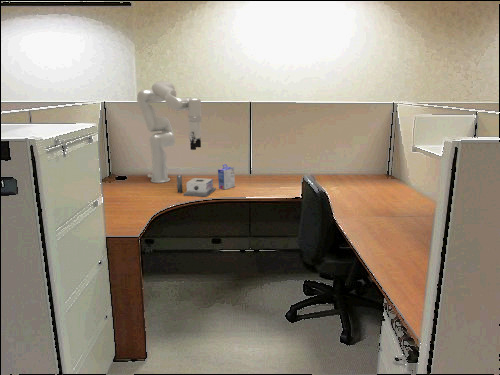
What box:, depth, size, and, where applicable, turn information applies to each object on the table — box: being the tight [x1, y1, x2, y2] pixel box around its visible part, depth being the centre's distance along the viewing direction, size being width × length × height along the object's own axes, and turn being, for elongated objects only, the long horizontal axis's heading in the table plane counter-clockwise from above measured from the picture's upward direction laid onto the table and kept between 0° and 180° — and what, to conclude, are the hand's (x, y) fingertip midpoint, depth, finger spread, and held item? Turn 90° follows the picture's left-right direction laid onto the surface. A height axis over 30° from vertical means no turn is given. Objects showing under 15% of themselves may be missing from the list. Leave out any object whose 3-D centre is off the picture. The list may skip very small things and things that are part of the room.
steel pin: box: [176, 175, 183, 194], centre depth 261 cm, size 3×3×10 cm
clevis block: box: [183, 177, 217, 198], centre depth 260 cm, size 14×18×7 cm
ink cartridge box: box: [217, 163, 236, 190], centre depth 271 cm, size 10×6×14 cm, turn 141°
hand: (195, 148), depth 262 cm, fingers open, 9 cm apart
